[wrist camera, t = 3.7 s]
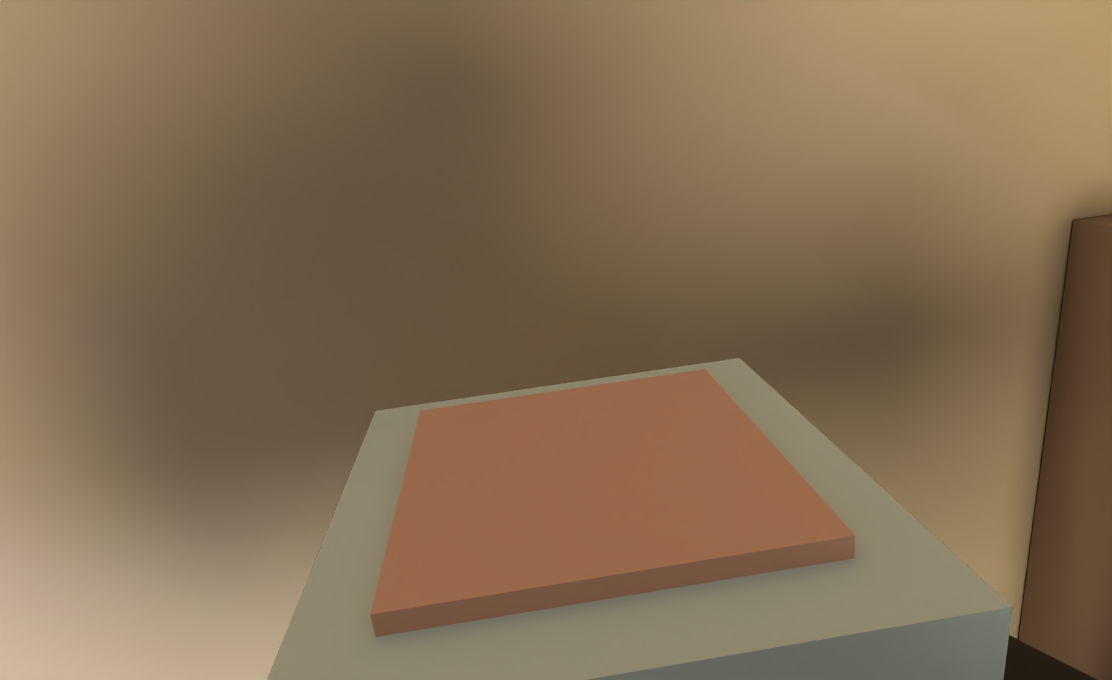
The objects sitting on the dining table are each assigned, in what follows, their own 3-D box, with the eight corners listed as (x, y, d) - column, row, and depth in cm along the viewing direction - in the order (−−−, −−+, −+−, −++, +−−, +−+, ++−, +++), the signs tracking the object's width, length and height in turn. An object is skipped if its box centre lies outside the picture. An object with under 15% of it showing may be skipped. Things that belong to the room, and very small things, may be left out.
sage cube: (739, 344, 9) (1015, 581, 4) (748, 647, 11) (956, 1061, 6) (372, 396, 9) (235, 713, 4) (439, 699, 10) (398, 1178, 6)
